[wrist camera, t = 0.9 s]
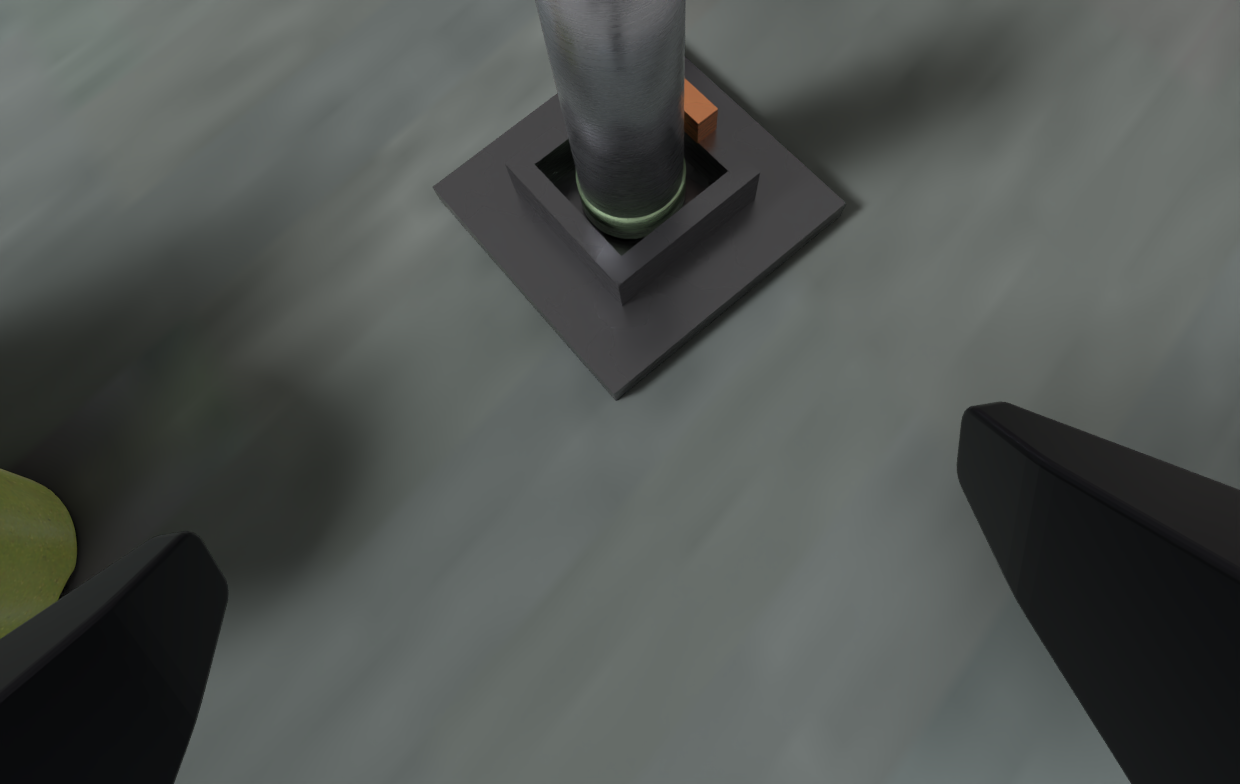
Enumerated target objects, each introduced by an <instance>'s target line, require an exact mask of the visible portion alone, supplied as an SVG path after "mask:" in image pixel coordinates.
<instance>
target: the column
mask: <svg viewBox="0 0 1240 784" xmlns="http://www.w3.org/2000/svg"><path fill="white" fill-rule="evenodd" d="M535 1H536V6H537V10H538V14H539V18H540V22H541V26H542V31H543V35H544V39H545V43H546V47H547V51H548V56H549V60H550V64H551V68H552V72H553V76H554V81H555V85H556V89H557V93H558V97H559V101H560V106H561V110H562V114H563V118H564V122H565V126H566V131H567V135H568V139H569V143H570V147H571V151H572V156H573V160H574V164H575V168H576V183H577V187H578V191H579V195H580V199H581V203H582V207H583V210H584V212H585V214H586V216H587V217H588V219H589V220H590V221H591V222H592V224H593V225H595V226H596V227H597V228H598V229H600V230H601V231H602V232H604V233H606V234H608V235H611V236H614V237H618V238H623V239H639V238H644V237H646V236H647V235H649V234H650V233H651V232H652V231H654V230H655V229H656V228H657V227H659V226H660V225H661V224H662V223H664V222H665V221H666V220H667V219H669V218H670V217H671V216H673V215H674V214H675V213H676V212H678V211H679V210H680V209H681V208H682V207H683V204H684V200H685V194H686V164H685V159H684V79H685V0H535Z"/></svg>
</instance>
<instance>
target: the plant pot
mask: <svg viewBox="0 0 1240 784" xmlns="http://www.w3.org/2000/svg"><path fill="white" fill-rule="evenodd" d="M76 558H77V541H76V533H75V528H74V525H73V522H72V519H71V516H70V514H69V512H68V510H67V509H66V507H65V506H64V504H63V503H62V502H61V500H60V499H59V498H58V497H57V496H56V495H55V494H54V493H53V492H52V491H51V490H49V489H48V488H46V487H45V486H43V485H41V484H39V483H37V482H35V481H33V480H31V479H28V478H25V477H23V476H20V475H17V474H14V473H11V472H9V471H6V470H3V469H0V639H1V638H2V637H4V636H5V635H7V634H8V633H10V632H11V631H13V630H14V629H16V628H17V627H19V626H20V625H22V624H23V623H25V622H26V621H28V620H29V619H31V618H32V617H34V616H35V615H37V614H38V613H40V612H41V611H43V610H44V609H46V608H47V607H49V606H50V605H52V604H53V603H55V602H56V601H58V599H59V597H60V594H61V592H62V590H63V588H64V586H65V584H66V582H67V580H68V578H69V577H70V575H71V574H72V572H73V570H74V569H75V565H76Z"/></svg>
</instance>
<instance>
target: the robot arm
mask: <svg viewBox="0 0 1240 784" xmlns="http://www.w3.org/2000/svg"><path fill="white" fill-rule="evenodd" d="M957 474H958V479H959V482H960V485H961V487H962V489H963V492H964V494H965V496H966V498H967V500H968V502H969V504H970V506H971V508H972V510H973V512H974V514H975V517H976V519H977V521H978V523H979V525H980V527H981V529H982V531H983V533H984V535H985V537H986V540H987V542H988V544H989V546H990V548H991V550H992V552H993V554H994V556H995V558H996V560H997V562H998V565H999V567H1000V569H1001V571H1002V573H1003V575H1004V577H1005V579H1006V581H1007V583H1008V585H1009V587H1010V589H1011V591H1012V593H1013V595H1014V597H1015V598H1016V600H1017V602H1018V604H1019V605H1020V607H1021V609H1022V610H1023V612H1024V614H1025V615H1026V617H1027V619H1028V620H1029V622H1030V623H1031V625H1032V627H1033V628H1034V630H1035V631H1036V633H1037V635H1038V636H1039V638H1040V639H1041V641H1042V643H1043V644H1044V646H1045V647H1046V649H1047V650H1048V652H1049V654H1050V655H1051V657H1052V658H1053V660H1054V662H1055V663H1056V665H1057V666H1058V668H1059V670H1060V671H1061V673H1062V674H1063V676H1064V678H1065V679H1066V681H1067V682H1068V684H1069V686H1070V687H1071V689H1072V690H1073V692H1074V693H1075V695H1076V697H1077V698H1078V700H1079V701H1080V703H1081V705H1082V706H1083V708H1084V709H1085V711H1086V713H1087V714H1088V716H1089V717H1090V719H1091V721H1092V722H1093V724H1094V725H1095V727H1096V728H1097V730H1098V732H1099V733H1100V735H1101V736H1102V738H1103V740H1104V741H1105V743H1106V744H1107V746H1108V748H1109V749H1110V751H1111V752H1112V754H1113V756H1114V757H1115V759H1116V760H1117V762H1118V763H1119V765H1120V767H1121V768H1122V770H1123V771H1124V773H1125V775H1126V776H1127V778H1128V779H1129V781H1130V783H1131V784H1240V490H1239V489H1236V488H1233V487H1231V486H1228V485H1225V484H1223V483H1220V482H1217V481H1215V480H1212V479H1209V478H1207V477H1204V476H1201V475H1199V474H1196V473H1193V472H1191V471H1188V470H1185V469H1183V468H1180V467H1177V466H1175V465H1172V464H1169V463H1167V462H1164V461H1161V460H1159V459H1156V458H1153V457H1151V456H1148V455H1145V454H1143V453H1140V452H1137V451H1135V450H1132V449H1129V448H1127V447H1124V446H1121V445H1119V444H1116V443H1113V442H1111V441H1108V440H1105V439H1103V438H1100V437H1097V436H1095V435H1092V434H1089V433H1087V432H1084V431H1081V430H1079V429H1076V428H1073V427H1071V426H1068V425H1065V424H1063V423H1060V422H1057V421H1055V420H1052V419H1049V418H1047V417H1044V416H1041V415H1039V414H1036V413H1034V412H1031V411H1028V410H1026V409H1023V408H1020V407H1018V406H1015V405H1012V404H1010V403H1007V402H995V403H988V404H982V405H976V406H971V407H969V408H968V409H966V410H965V412H964V414H963V416H962V421H961V430H960V439H959V448H958V457H957ZM227 602H228V585H227V582H226V579H225V577H224V575H223V574H222V572H221V570H220V569H219V567H218V565H217V564H216V562H215V560H214V559H213V557H212V556H211V554H210V552H209V551H208V549H207V547H206V546H205V544H204V542H203V541H202V539H201V538H200V537H199V536H198V535H197V534H195V533H193V532H190V531H183V532H177V533H170V534H164V535H158V536H156V537H153V538H151V539H149V540H148V541H146V542H145V543H143V544H142V545H140V546H139V547H137V548H136V549H134V550H133V551H131V552H130V553H128V554H127V555H125V556H124V557H122V558H121V559H119V560H118V561H116V562H115V563H113V564H112V565H110V566H109V567H107V568H106V569H104V570H103V571H101V572H100V573H98V574H97V575H95V576H94V577H92V578H91V579H89V580H88V581H86V582H85V583H83V584H82V585H80V586H79V587H77V588H76V589H74V590H73V591H71V592H70V593H68V594H67V595H65V596H64V597H62V598H61V599H59V600H58V601H56V602H55V603H53V604H52V605H50V606H49V607H47V608H46V609H44V610H43V611H41V612H40V613H38V614H37V615H35V616H34V617H32V618H31V619H29V620H28V621H26V622H25V623H23V624H22V625H20V626H19V627H17V628H16V629H14V630H13V631H11V632H10V633H8V634H7V635H5V636H4V637H2V638H1V639H0V784H174V782H175V779H176V777H177V774H178V771H179V768H180V766H181V763H182V760H183V758H184V755H185V752H186V749H187V747H188V744H189V741H190V738H191V735H192V732H193V729H194V726H195V724H196V720H197V717H198V713H199V710H200V706H201V703H202V699H203V695H204V692H205V688H206V684H207V680H208V676H209V672H210V668H211V664H212V661H213V657H214V653H215V649H216V645H217V641H218V637H219V633H220V629H221V626H222V622H223V618H224V614H225V610H226V606H227Z"/></svg>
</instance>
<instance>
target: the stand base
mask: <svg viewBox="0 0 1240 784" xmlns="http://www.w3.org/2000/svg"><path fill="white" fill-rule="evenodd" d="M684 159H685V164H686V194H685V200H684V204H683V207H682V208H681V209H680V210H679V211H678V212H676V213H675V214H674V215H673V216H671V217H670V218H669V219H667V220H666V221H665V222H664V223H662V224H661V225H660V226H659V227H657V228H656V229H655V230H654V231H652V232H651V233H650V234H649V235H647V236H646V237H644V238H639V239H623V238H618V237H614V236H611V235H608V234H606V233H604V232H602V231H601V230H600V229H598V228H597V227H596V226H595V225H593V224H592V222H591V221H590V220H589V219H588V217H587V216H586V214H585V212H584V210H583V207H582V203H581V199H580V195H579V191H578V187H577V183H576V168H575V164H574V160H573V156H572V151H571V147H570V143H569V139H568V135H567V131H566V126H565V122H564V118H563V114H562V110H561V106H560V101H559V97H558V93H557V94H556V95H555V96H553V97H552V98H551V99H549V100H548V101H547V102H545V103H544V104H543V105H541V106H540V107H539V108H537V109H536V110H535V111H533V112H532V113H531V114H529V115H528V116H527V117H525V118H524V119H523V120H521V121H520V122H519V123H517V124H516V125H515V126H513V127H512V128H511V129H509V130H508V131H507V132H505V133H504V134H503V135H501V136H500V137H499V138H497V139H496V140H495V141H493V142H492V143H491V144H489V145H488V146H487V147H485V148H484V149H483V150H481V151H480V152H479V153H477V154H476V155H475V156H473V157H472V158H471V159H469V160H468V161H467V162H465V163H464V164H463V165H461V166H460V167H459V168H457V169H456V170H455V171H453V172H452V173H451V174H449V175H448V176H447V177H445V178H444V179H443V180H441V181H440V182H439V183H437V184H436V185H435V186H433V189H434V190H435V192H436V194H437V195H438V197H439V199H440V200H441V201H442V202H443V203H444V205H445V206H446V207H447V208H448V209H449V210H450V211H451V213H452V214H453V215H454V216H455V217H456V218H457V219H458V221H459V222H460V223H461V224H462V225H463V226H464V227H465V229H466V230H467V231H468V232H469V233H470V234H471V236H472V237H473V238H474V239H475V240H476V241H477V242H478V244H479V245H480V246H481V247H482V248H483V249H484V250H485V252H486V253H487V254H488V255H489V256H490V257H491V258H492V260H493V261H494V262H495V263H496V264H497V265H498V266H499V268H500V269H501V270H502V271H503V272H504V273H505V274H506V276H507V277H508V278H509V279H510V280H511V281H512V282H513V284H514V285H515V286H516V287H517V288H518V289H519V290H520V292H521V293H522V294H523V295H524V296H525V297H526V298H527V300H528V301H529V302H530V303H531V304H532V305H533V306H534V308H535V309H536V310H537V311H538V312H539V313H540V314H541V316H542V317H543V318H544V319H545V320H546V321H547V322H548V324H549V325H550V326H551V327H552V328H553V329H554V330H555V332H556V333H557V334H558V335H559V336H560V337H561V338H562V340H563V341H564V342H565V343H566V344H567V345H568V346H569V348H570V349H571V350H572V351H573V352H574V353H575V354H576V356H577V357H578V358H579V359H580V360H581V361H582V362H583V364H584V365H585V366H586V367H587V368H588V369H589V371H590V372H591V373H592V374H593V375H594V376H595V377H596V379H597V380H598V381H599V382H600V383H601V384H602V385H603V387H604V388H605V389H606V390H607V391H608V392H609V393H610V395H611V396H612V397H613V398H614V399H615V400H618V399H619V398H620V397H621V396H622V395H624V394H625V393H626V392H627V391H628V390H630V389H631V388H632V387H633V386H635V385H636V384H637V383H638V382H639V381H641V380H642V379H643V378H644V377H645V376H647V375H648V374H649V373H650V372H651V371H653V370H654V369H655V368H656V367H658V366H659V365H660V364H661V363H662V362H664V361H665V360H666V359H667V358H668V357H670V356H671V355H672V354H673V353H675V352H676V351H677V350H678V349H679V348H681V347H682V346H683V345H684V344H685V343H687V342H688V341H689V340H690V339H691V338H693V337H694V336H695V335H696V334H698V333H699V332H700V331H701V330H702V329H704V328H705V327H706V326H707V325H708V324H710V323H711V322H712V321H713V320H714V319H716V318H717V317H718V316H719V315H721V314H722V313H723V312H724V311H725V310H727V309H728V308H729V307H730V306H731V305H733V304H734V303H735V302H736V301H738V300H739V299H740V298H741V297H742V296H744V295H745V294H746V293H747V292H748V291H750V290H751V289H752V288H753V287H754V286H756V285H757V284H758V283H759V282H761V281H762V280H763V279H764V278H765V277H767V276H768V275H769V274H770V273H771V272H773V271H774V270H775V269H776V268H778V267H779V266H780V265H781V264H782V263H784V262H785V261H786V260H787V259H788V258H790V257H791V256H792V255H793V254H794V253H796V252H797V251H798V250H799V249H801V248H802V247H803V246H804V245H805V244H807V243H808V242H809V241H810V240H811V239H813V238H814V237H815V236H816V235H818V234H819V233H820V232H821V231H822V230H824V229H825V228H826V227H827V226H828V225H830V224H831V223H832V222H833V221H834V220H836V219H837V218H838V217H839V216H841V214H842V211H843V209H844V206H845V204H846V202H844V201H843V200H842V199H841V198H840V197H839V196H838V195H837V194H836V193H835V192H833V191H832V190H831V189H830V188H829V187H828V186H827V185H826V184H825V183H824V182H822V181H821V180H820V179H819V178H818V177H817V176H816V175H815V174H814V173H813V172H811V171H810V170H809V169H808V168H807V167H806V166H805V165H804V164H803V163H802V162H800V161H799V160H798V159H797V158H796V157H795V156H794V155H793V154H792V153H791V152H789V151H788V150H787V149H786V148H785V147H784V146H783V145H782V144H781V143H780V142H779V141H777V140H776V139H775V138H774V137H773V136H772V135H771V134H770V133H769V132H768V131H766V130H765V129H764V128H763V127H762V126H761V125H760V124H759V123H758V122H757V121H755V120H754V119H753V118H752V117H751V116H750V115H749V114H748V113H747V112H746V111H744V110H743V109H742V108H741V107H740V106H739V105H738V104H737V103H736V102H735V101H733V100H732V99H731V98H730V97H729V96H728V95H727V94H726V93H725V92H724V91H722V90H721V89H720V88H719V87H718V86H717V85H716V84H715V83H714V82H713V81H711V80H710V79H709V78H708V77H707V76H706V75H705V74H704V73H703V72H702V71H701V70H699V69H698V68H697V67H696V66H695V65H694V64H693V63H692V62H691V61H690V60H688V59H687V58H686V57H685V79H684Z"/></svg>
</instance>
